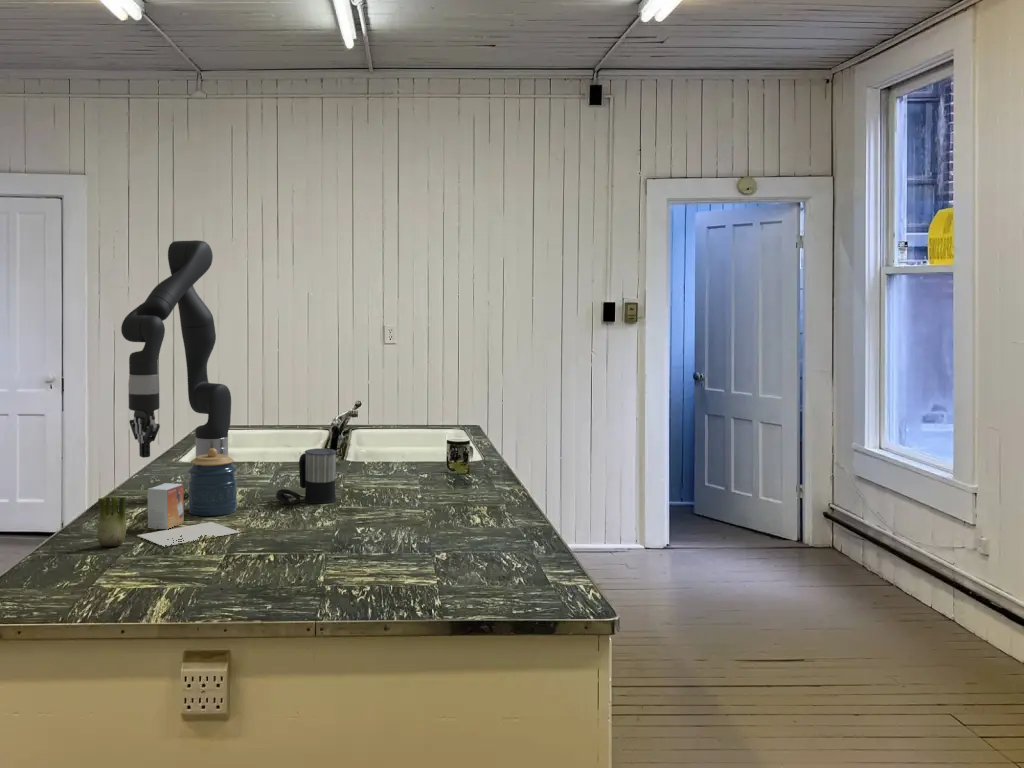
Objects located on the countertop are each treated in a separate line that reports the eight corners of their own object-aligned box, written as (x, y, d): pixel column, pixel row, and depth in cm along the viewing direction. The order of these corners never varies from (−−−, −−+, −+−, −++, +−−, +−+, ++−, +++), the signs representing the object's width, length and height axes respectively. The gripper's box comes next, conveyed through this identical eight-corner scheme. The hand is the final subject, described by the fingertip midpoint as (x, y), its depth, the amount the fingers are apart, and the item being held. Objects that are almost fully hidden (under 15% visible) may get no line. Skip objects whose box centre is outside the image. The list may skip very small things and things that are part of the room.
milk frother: (342, 499, 273) (343, 449, 272) (309, 510, 259) (309, 457, 258) (304, 494, 279) (304, 445, 278) (269, 504, 265) (269, 453, 264)
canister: (191, 518, 246) (191, 453, 245) (184, 508, 258) (183, 445, 256) (241, 514, 252) (241, 450, 251) (232, 504, 264) (232, 443, 262)
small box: (167, 531, 233) (166, 490, 232) (147, 529, 235) (146, 488, 234) (184, 523, 241) (184, 483, 240) (165, 522, 242) (164, 482, 241)
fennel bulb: (128, 543, 221) (127, 494, 220) (120, 549, 216) (119, 498, 215) (103, 543, 221) (102, 493, 220) (95, 548, 216) (93, 498, 215)
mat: (211, 523, 242) (211, 521, 242) (240, 533, 232) (240, 531, 232) (137, 536, 227) (137, 535, 227) (164, 548, 218) (164, 546, 218)
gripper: (169, 393, 240) (170, 458, 242) (146, 388, 249) (147, 452, 251) (141, 394, 235) (142, 462, 237) (118, 390, 244) (119, 455, 246)
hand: (144, 456), depth 244 cm, fingers closed
